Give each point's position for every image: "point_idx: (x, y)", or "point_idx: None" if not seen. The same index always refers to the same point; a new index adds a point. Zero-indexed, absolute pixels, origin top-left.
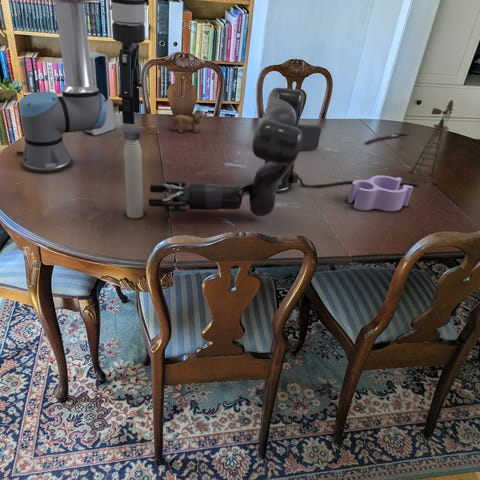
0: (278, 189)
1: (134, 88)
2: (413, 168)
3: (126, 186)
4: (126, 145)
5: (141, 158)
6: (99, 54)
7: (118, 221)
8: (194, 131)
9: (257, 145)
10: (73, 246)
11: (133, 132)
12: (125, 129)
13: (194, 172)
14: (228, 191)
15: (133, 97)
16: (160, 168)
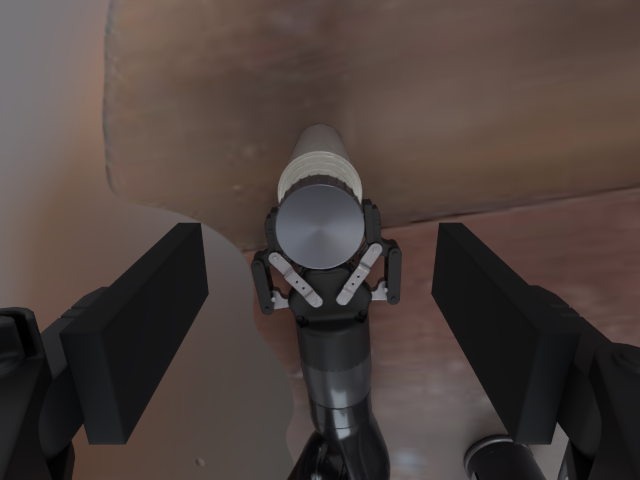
0: (467, 469)
1: (522, 400)
2: None
3: (299, 141)
4: (297, 176)
5: None
6: None
7: (274, 108)
8: None
9: None
10: (121, 8)
11: (280, 242)
12: (317, 189)
13: (589, 282)
14: (322, 418)
15: (480, 320)
16: (627, 181)
